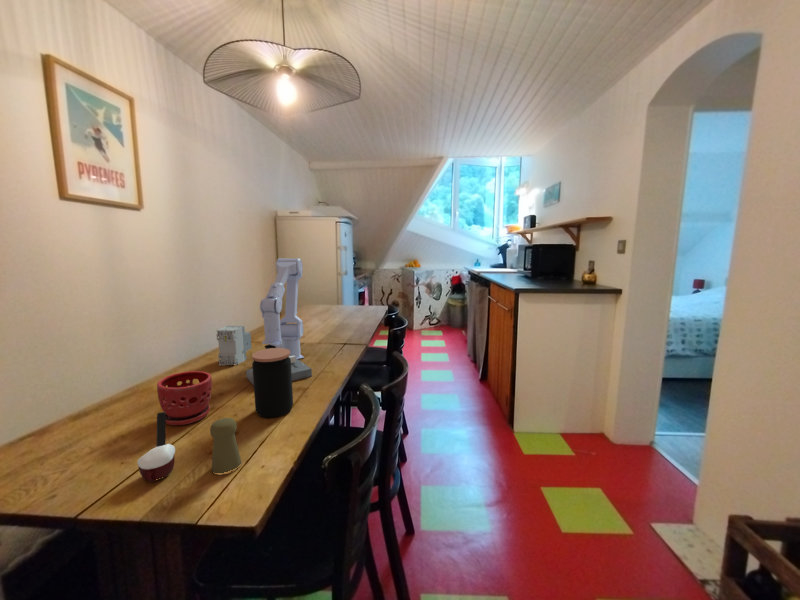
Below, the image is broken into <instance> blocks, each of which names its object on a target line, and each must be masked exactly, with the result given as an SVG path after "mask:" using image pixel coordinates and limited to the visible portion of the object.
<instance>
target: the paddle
mask: <svg viewBox="0 0 800 600" xmlns="http://www.w3.org/2000/svg"><path fill="white" fill-rule="evenodd" d="M289 357H290V359H291V363H295V362H296V356H289Z"/></svg>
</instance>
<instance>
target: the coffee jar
mask: <svg viewBox="0 0 800 600" xmlns="http://www.w3.org/2000/svg"><path fill="white" fill-rule="evenodd" d="M289 356H290V350H288V349H284V348H269V349H266V348H264V349H260V350H257V351H255V352H253V353H252V354H251V358H252V359H251V360H252V364H251V365H252V366H251V367H253V381H254V386H253V393H254V394H253V395H254V405H255V406H254V407H255V413H256V414H257V415H258V416H259V417H261V418H263V419H275V418H280V417H282V416H285V415H287V414H289V412H290V411H291V410H292V408H293V405H294V395H293V393H294V392H293V381H292V372H291V359H290V357H289Z"/></svg>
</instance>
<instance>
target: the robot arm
mask: <svg viewBox="0 0 800 600" xmlns="http://www.w3.org/2000/svg"><path fill="white" fill-rule="evenodd" d="M303 265H304V264H303V261H302V260H301V258H299V257H298V258H282V257H279V258H278V259H277V260H276V262H275V268H276V271H277V273H276V277H275V280H274V283H271V284H270V287H269V289H268V291H267V294H266V296H265V297H264V298H263V299H261V301H260V305H259V310H260V313H261V317H262V319H263V325H264V340H263V341H261V344H262V345H264V349H269V348H284V349H288V350H290V356H296V359H298V360H301V359H304V358H305V356H304V355H303V354H301V338H302V337H303V335H304V331H305V330H304V321H303V319H301V318H300V317H299V316H297V315H298V297H299V296H298V295H299V282H300V279H302V278H303ZM285 284H286V287H285ZM285 292H286V293H285ZM284 295H286V296H285V311H284V316H283V317H282V318H281V319H280V316H281V315H280V313H281V312H282V308H283V297H284Z"/></svg>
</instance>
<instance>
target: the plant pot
mask: <svg viewBox="0 0 800 600" xmlns="http://www.w3.org/2000/svg"><path fill="white" fill-rule="evenodd" d="M194 380H198V383H196V384H194V383H193V382H194ZM187 381H189V382H187ZM212 381H213V380H212V374H210V373H209V372H207V371H201V370H193V371H184V372H183V371H182V372H177V373H174V374H169V375H167V376H165V377H163V378H161V379H159V381H158V382H157V384H156V392H157V396H158V401H159V402H158V403H159V405H160V408H161V410H162V411H163V412H165V413H166V424H168V425H171V426H183V425H188V424H193V423H196V422H198V421H200V420H202V419H203V418H204V417H206V416H207V415H208V414H209V413H210V410H211V406H210V405H209V403H210V401H211V396H212V388H213V387H212V386H213V385H212V384H213V382H212ZM179 382H181V384H180V385H179V384H178V383H179Z"/></svg>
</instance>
